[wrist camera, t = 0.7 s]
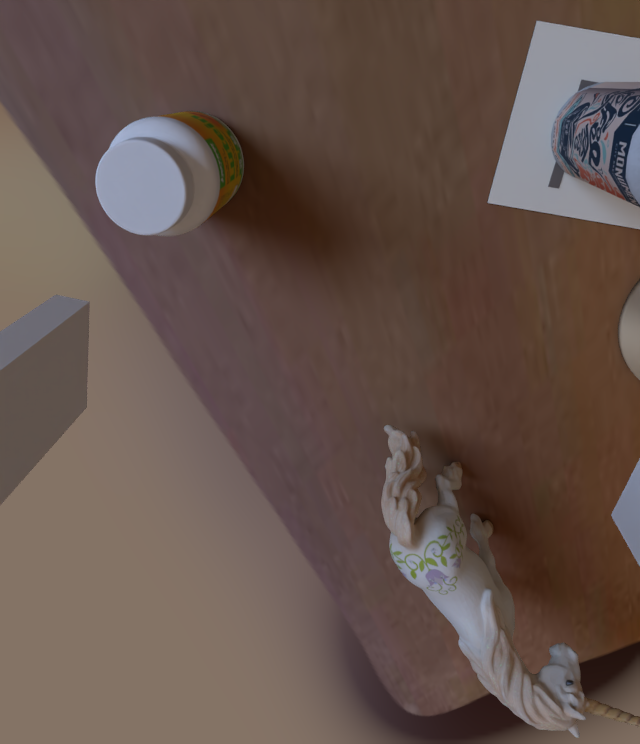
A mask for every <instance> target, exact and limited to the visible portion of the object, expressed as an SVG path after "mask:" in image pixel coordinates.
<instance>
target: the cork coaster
mask: <svg viewBox="0 0 640 744" xmlns="http://www.w3.org/2000/svg"><path fill="white" fill-rule="evenodd" d="M618 341H619V347H620V351H621V354H622V357H623V359H624V361H625V363H626V364H627V366H628V367H629V369H630V370H631V371H632V372H633V374H634V375H635V376H636V377H637V378H638V379H639V380H640V279H639V281H638V282H637V283H636V284H635V286H634V287H633V289H632V290H631V292H630V294H629V295H628V297H627V299H626V301H625V304H624V306H623V309H622V312H621V315H620V319H619V325H618Z"/></svg>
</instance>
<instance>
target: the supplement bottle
mask: <svg viewBox="0 0 640 744" xmlns="http://www.w3.org/2000/svg"><path fill="white" fill-rule="evenodd" d="M243 173H244V158H243V153H242V150H241V147H240V144H239V142H238V140H237V138H236V136H235V135H234V133H233V132H232V131H231V130H230V128H229V127H228V126H227V125H226V124H225V123H223V122H222V121H221V120H219V119H218V118H216V117H214V116H212V115H210V114H207V113H203V112H198V111H186V112H179V113H174V114H168V115H161V116H154V117H148V118H144V119H140V120H137V121H135V122H133V123H131V124H129V125H128V126H126V127H125V128H124V129H122V130H121V131H120V132H119V133H118V134H117V136H116V137H115V138H114V140H113V141H112V143H111V145H110V148H109V150H108V151H107V152H106V153H105V154H104V155H103V157H102V158H101V160H100V162H99V165H98V168H97V172H96V191H97V195H98V198H99V201H100V203H101V205H102V207H103V209H104V210H105V212H106V213H107V215H108V216H109V217H110V218H111V219H112V220H113V221H114V222H115V223H116V224H117V225H119V226H120V227H122V228H123V229H125V230H127V231H129V232H132V233H135V234H139V235H159V236H177V235H181V234H185V233H187V232H190V231H192V230H194V229H195V228H197V227H199V226H200V225H202V224H203V223H204V222H205V221H206V220H208V219H209V218H210V217H211V216H212V215H213V214H215V213H216V212H217V211H218V210H219V209H220V208H222V207H223V206H224V205H225V204H226V203H228V202H229V201H230V200H231V199H232V197H233V196H234V195H235V194H236V192H237V190H238V188H239V186H240V184H241V182H242V178H243Z"/></svg>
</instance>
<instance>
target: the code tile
mask: <svg viewBox="0 0 640 744" xmlns="http://www.w3.org/2000/svg"><path fill="white" fill-rule="evenodd" d="M601 82H640V39H639V38H633V37H627V36H621V35H616V34H610V33H604V32H598V31H593V30H587V29H581V28H575V27H570V26H564V25H558V24H552V23H547V22H541V21H537V22H536V26H535V29H534V33H533V37H532V40H531V44H530V48H529V51H528V55H527V59H526V62H525V66H524V70H523V73H522V77H521V81H520V84H519V88H518V92H517V95H516V99H515V103H514V106H513V110H512V114H511V117H510V121H509V125H508V128H507V132H506V136H505V140H504V143H503V147H502V151H501V154H500V158H499V162H498V165H497V169H496V173H495V176H494V180H493V184H492V187H491V191H490V195H489V198H488V202H487V203H491V204H497V205H503V206H508V207H514V208H520V209H526V210H531V211H537V212H543V213H549V214H555V215H560V216H566V217H572V218H578V219H583V220H589V221H595V222H601V223H607V224H612V225H618V226H624V227H630V228H635V229H640V207H638V206H636V205H634V204H632V203H630V202H627V201H625V200H623V199H621V198H619V197H617V196H615V195H612V194H610V193H608V192H606V191H604V190H602V189H600V188H597V187H595V186H593V185H591V184H589V183H587V182H585V181H582V180H580V179H578V178H575V177H573V176H571V175H569V174H567V173H566V172H564V171H563V170H562V169H561V167H560V166H559V165H558V163H557V162H556V160H555V158H554V156H553V153H552V148H551V132H552V128H553V123H554V121H555V119H556V117H557V114H558V112H559V111H560V109H561V108H562V107H563V105H564V104H565V103H566V102H567V101H568V99H569V98H570V97H572V96H573V95H574V94H575V93H576V92H578V91H580V90H582V89H583V88H585V87H587V86H590V85H593V84H596V83H601Z"/></svg>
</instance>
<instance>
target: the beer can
mask: <svg viewBox="0 0 640 744" xmlns="http://www.w3.org/2000/svg"><path fill="white" fill-rule="evenodd" d="M551 148H552V153H553V156H554V158H555V160H556V162H557V163H558V165H559V166H560V167H561V169H562V170H563V171H564V172H566V173H567V174H569V175H571V176H573V177H575V178H578V179H580V180H582V181H585V182H587V183H589V184H591V185H593V186H595V187H597V188H600V189H602V190H604V191H606V192H608V193H610V194H612V195H615V196H617V197H619V198H621V199H623V200H625V201H627V202H630V203H632V204H634V205H636V206H638V207H640V82H601V83H596V84H593V85H590V86H587V87H585V88H583V89H582V90H580V91H578V92H576V93H575V94H574V95H573V96H572V97H570V98H569V99H568V101H567V102H566V103H565V104H564V105H563V107H562V108H561V109H560V111H559V112H558V114H557V117H556V119H555V121H554V123H553V128H552V132H551Z"/></svg>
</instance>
